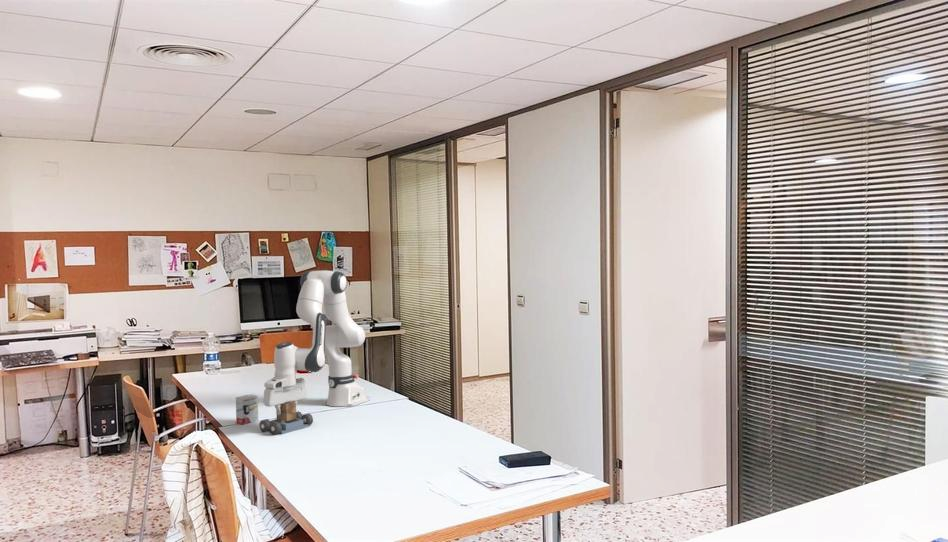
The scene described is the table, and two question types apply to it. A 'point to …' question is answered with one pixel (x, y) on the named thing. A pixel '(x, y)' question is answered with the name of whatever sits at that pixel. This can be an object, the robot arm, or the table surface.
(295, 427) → the chassis
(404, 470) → the table surface
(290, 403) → the brown box
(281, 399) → the robot arm
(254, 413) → the ink box
